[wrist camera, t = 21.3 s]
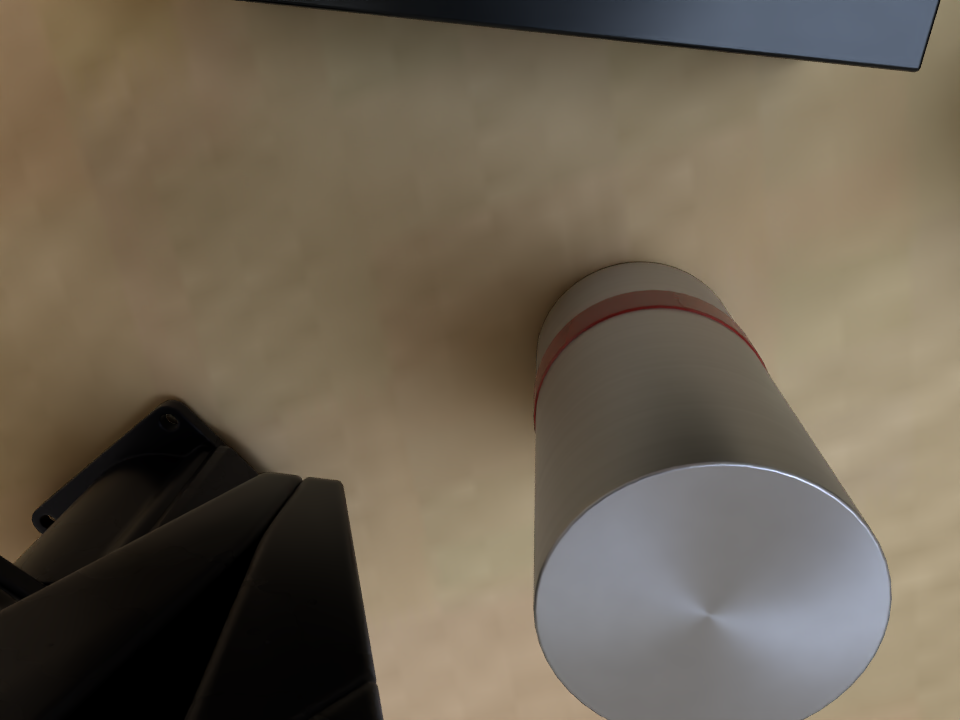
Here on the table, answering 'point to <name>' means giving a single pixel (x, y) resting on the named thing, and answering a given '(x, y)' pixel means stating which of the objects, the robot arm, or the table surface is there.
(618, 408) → the grey metal cylinder
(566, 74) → the table surface
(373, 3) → the cabinet
